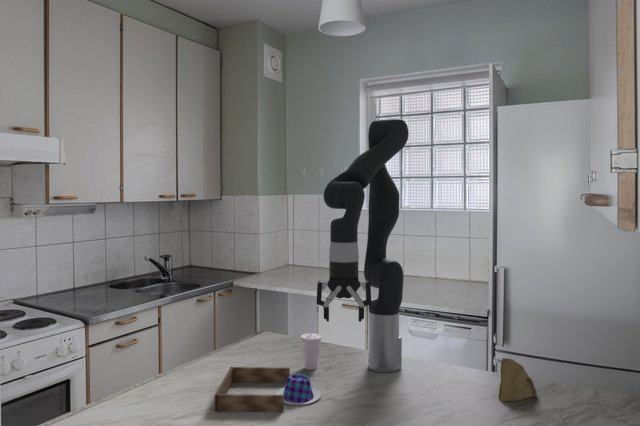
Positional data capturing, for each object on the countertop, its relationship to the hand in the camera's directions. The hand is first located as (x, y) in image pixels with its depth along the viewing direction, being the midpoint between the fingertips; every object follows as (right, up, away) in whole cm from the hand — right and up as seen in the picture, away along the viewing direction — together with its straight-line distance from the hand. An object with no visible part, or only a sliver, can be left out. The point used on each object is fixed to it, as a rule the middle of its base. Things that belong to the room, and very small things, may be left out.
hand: (343, 320), depth 124 cm
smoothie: (-9, -19, +21) cm, 30 cm away
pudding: (-12, -20, +1) cm, 24 cm away
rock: (+46, -20, +1) cm, 50 cm away
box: (-23, -20, +1) cm, 30 cm away
